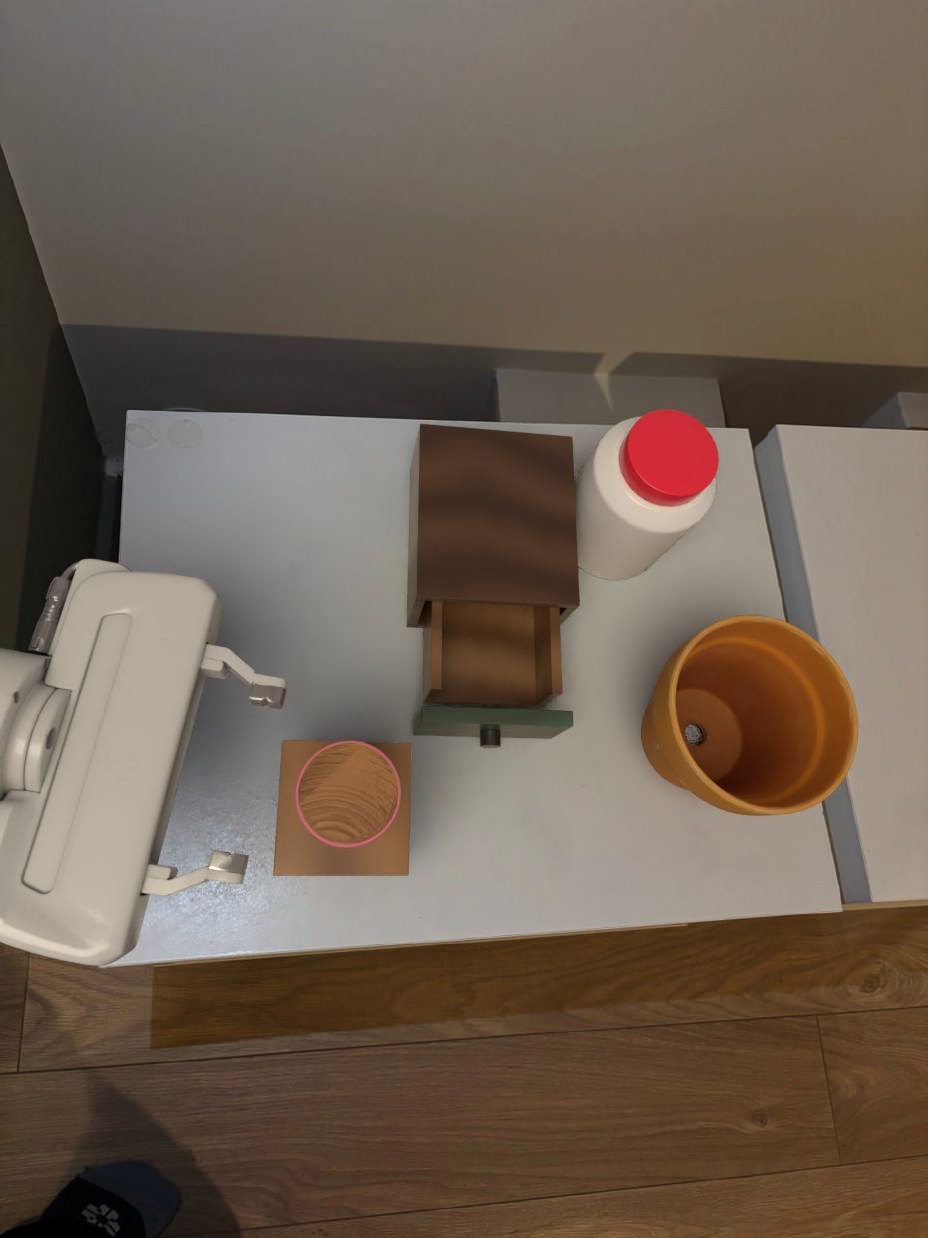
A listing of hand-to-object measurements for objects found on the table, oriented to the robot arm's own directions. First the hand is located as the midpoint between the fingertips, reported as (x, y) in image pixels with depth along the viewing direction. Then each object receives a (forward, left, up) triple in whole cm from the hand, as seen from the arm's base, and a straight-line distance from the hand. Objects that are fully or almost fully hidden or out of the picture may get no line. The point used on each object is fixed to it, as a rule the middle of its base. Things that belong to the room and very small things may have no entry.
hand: (266, 779), depth 44 cm
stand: (+4, -1, -19) cm, 20 cm away
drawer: (+15, +12, -19) cm, 27 cm away
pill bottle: (+27, +25, -20) cm, 42 cm away
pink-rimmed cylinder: (+4, -1, -5) cm, 7 cm away
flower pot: (+33, +6, -20) cm, 39 cm away
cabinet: (+15, +22, -19) cm, 33 cm away
